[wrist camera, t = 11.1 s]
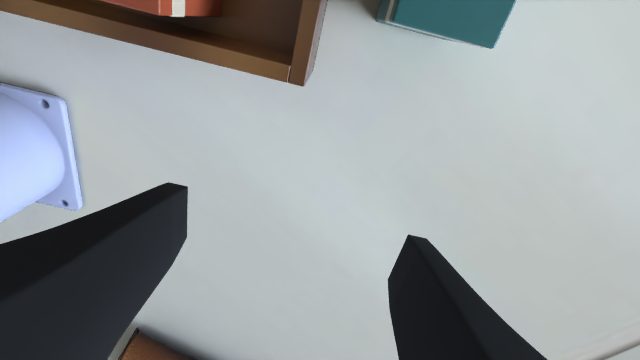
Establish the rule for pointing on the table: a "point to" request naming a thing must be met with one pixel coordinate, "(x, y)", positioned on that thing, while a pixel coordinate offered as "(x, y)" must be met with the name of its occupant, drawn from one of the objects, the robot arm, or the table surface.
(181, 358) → the sunglasses case
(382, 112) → the table surface
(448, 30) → the block
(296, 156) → the table surface
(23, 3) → the tray
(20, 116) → the robot arm
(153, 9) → the rust packet
